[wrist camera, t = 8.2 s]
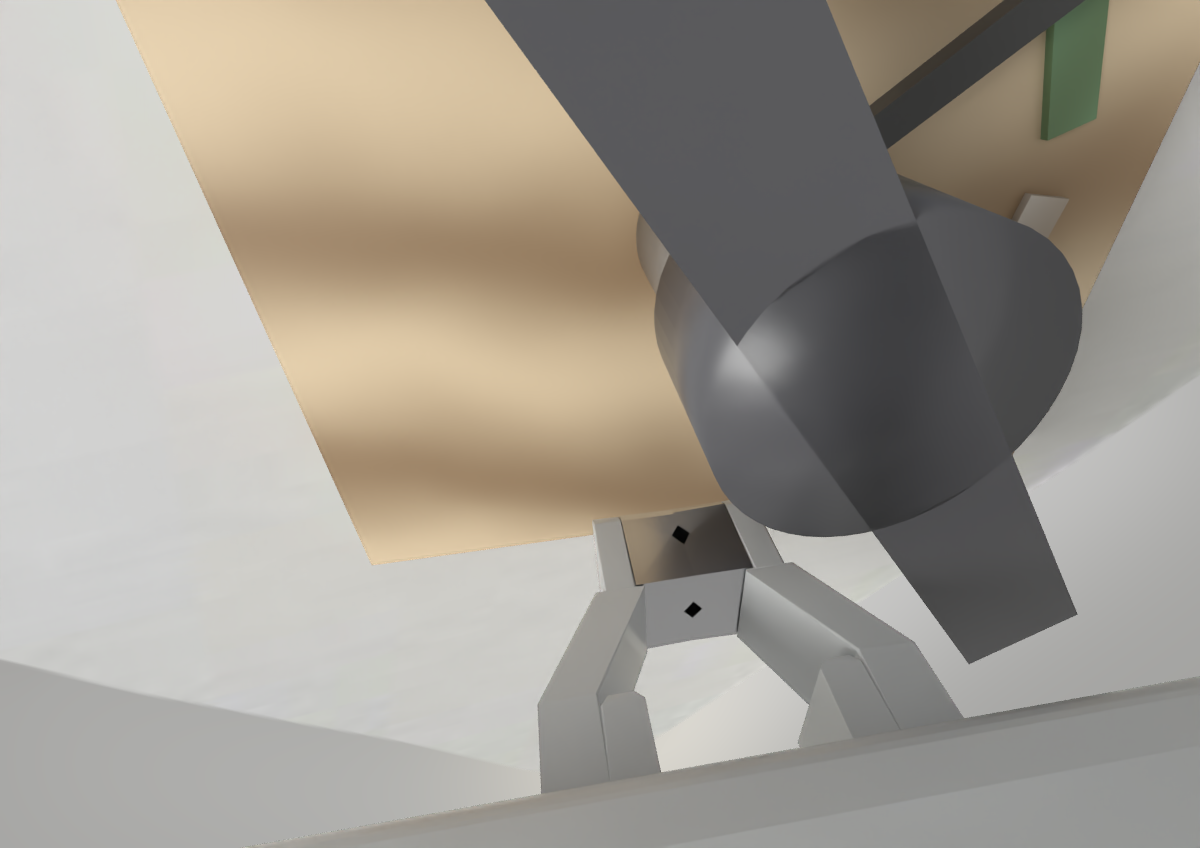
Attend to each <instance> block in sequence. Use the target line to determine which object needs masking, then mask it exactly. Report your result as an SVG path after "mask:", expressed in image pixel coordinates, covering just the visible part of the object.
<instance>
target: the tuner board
mask: <svg viewBox="0 0 1200 848" xmlns="http://www.w3.org/2000/svg"><path fill="white" fill-rule="evenodd" d="M116 1H117V4H118V6H119V8H120V10H121V13H122V15H123V17H124V19H125V21H126V24H127V26H128V28H129V30H130V32H131V35H132V37H133V39H134V41H135V43H136V46H137V48H138V50H139V52H140V54H141V57H142V59H143V61H144V63H145V65H146V68H147V70H148V72H149V74H150V77H151V79H152V81H153V83H154V85H155V88H156V90H157V92H158V94H159V96H160V99H161V101H162V103H163V105H164V107H165V110H166V112H167V114H168V116H169V118H170V121H171V123H172V125H173V127H174V129H175V132H176V134H177V136H178V138H179V141H180V143H181V145H182V147H183V149H184V152H185V154H186V156H187V158H188V160H189V163H190V165H191V167H192V169H193V171H194V174H195V176H196V178H197V180H198V182H199V185H200V187H201V189H202V191H203V193H204V196H205V198H206V200H207V202H208V205H209V207H210V209H211V211H212V213H213V216H214V218H215V220H216V222H217V224H218V227H219V229H220V231H221V233H222V235H223V238H224V240H225V242H226V244H227V246H228V249H229V251H230V253H231V255H232V257H233V260H234V262H235V264H236V266H237V269H238V271H239V273H240V275H241V277H242V280H243V282H244V284H245V286H246V288H247V291H248V293H249V295H250V297H251V299H252V302H253V304H254V306H255V308H256V310H257V313H258V315H259V317H260V319H261V321H262V324H263V326H264V328H265V330H266V333H267V335H268V337H269V339H270V341H271V344H272V346H273V348H274V350H275V352H276V355H277V357H278V359H279V361H280V363H281V366H282V368H283V370H284V372H285V374H286V377H287V379H288V381H289V383H290V385H291V388H292V390H293V392H294V394H295V397H296V399H297V401H298V403H299V405H300V408H301V410H302V412H303V414H304V416H305V419H306V421H307V423H308V425H309V427H310V430H311V432H312V434H313V436H314V438H315V441H316V443H317V445H318V447H319V450H320V452H321V454H322V456H323V458H324V461H325V463H326V465H327V467H328V469H329V472H330V474H331V476H332V478H333V480H334V483H335V485H336V487H337V489H338V491H339V494H340V496H341V498H342V500H343V502H344V505H345V507H346V509H347V511H348V514H349V516H350V518H351V520H352V522H353V525H354V527H355V529H356V531H357V533H358V536H359V538H360V540H361V542H362V544H363V547H364V549H365V551H366V553H367V555H368V558H369V560H370V562H371V564H372V565H378V564H385V563H392V562H400V561H407V560H414V559H421V558H428V557H436V556H443V555H450V554H457V553H465V552H472V551H479V550H486V549H493V548H501V547H508V546H515V545H522V544H530V543H537V542H544V541H551V540H558V539H566V538H573V537H580V536H587V535H593V526H592V520H595V519H603V518H611V517H619V516H623V515H632V514H640V513H648V512H656V511H664V510H670V509H675V508H681V507H688V506H694V505H700V504H707V503H713V502H719V501H720V502H722V501H726V500H729V499H728V498H727V496H726V495H725V494H724V493H723V491H722V490H721V488H720V486H719V484H718V482H717V480H716V478H715V476H714V474H713V472H712V470H711V467H710V465H709V463H708V461H707V458H706V456H705V454H704V452H703V449H702V447H701V445H700V443H699V440H698V438H697V436H696V434H695V431H694V429H693V427H692V425H691V422H690V420H689V418H688V416H687V413H686V411H685V409H684V407H683V404H682V402H681V400H680V398H679V395H678V393H677V391H676V389H675V386H674V384H673V382H672V380H671V377H670V375H669V373H668V371H667V368H666V366H665V364H664V362H663V359H662V357H661V354H660V351H659V348H658V345H657V340H656V334H655V326H654V309H655V300H656V294H655V292H654V290H653V288H652V286H651V284H650V283H649V281H648V279H647V277H646V275H645V273H644V271H643V269H642V266H641V263H640V260H639V257H638V252H637V246H636V230H637V222H638V217H639V211H638V210H637V208H636V207H635V206H634V204H633V203H632V202H631V200H630V199H629V197H628V196H627V195H626V193H625V192H624V191H623V189H622V188H621V186H620V185H619V184H618V182H617V181H616V180H615V178H614V177H613V176H612V174H611V173H610V171H609V170H608V169H607V167H606V166H605V165H604V163H603V162H602V160H601V159H600V158H599V156H598V155H597V154H596V152H595V151H594V149H593V148H592V147H591V145H590V144H589V143H588V141H587V140H586V139H585V137H584V136H583V134H582V133H581V132H580V130H579V129H578V128H577V126H576V125H575V123H574V122H573V121H572V119H571V118H570V117H569V115H568V114H567V112H566V111H565V110H564V108H563V107H562V106H561V104H560V103H559V102H558V100H557V99H556V97H555V96H554V95H553V93H552V92H551V91H550V89H549V88H548V86H547V85H546V84H545V82H544V81H543V80H542V78H541V77H540V75H539V74H538V73H537V71H536V70H535V69H534V67H533V66H532V65H531V63H530V62H529V60H528V59H527V58H526V56H525V55H524V54H523V52H522V51H521V49H520V48H519V47H518V45H517V44H516V43H515V41H514V40H513V38H512V37H511V36H510V34H509V33H508V32H507V30H506V29H505V28H504V26H503V25H502V23H501V22H500V21H499V19H498V18H497V17H496V15H495V14H494V12H493V11H492V10H491V8H490V7H489V6H488V4H487V3H486V1H485V0H116ZM826 1H827V4H828V6H829V9H830V11H831V13H832V16H833V18H834V21H835V23H836V26H837V28H838V31H839V33H840V35H841V38H842V40H843V43H844V45H845V48H846V50H847V53H848V55H849V57H850V60H851V62H852V65H853V67H854V70H855V72H856V75H857V77H858V79H859V82H860V84H861V87H862V89H863V92H864V94H865V97H866V99H867V101H868V104H869V106H870V105H871V104H872V103H873V102H875V101H876V100H877V99H879V98H880V97H881V96H882V95H884V94H885V93H886V92H888V91H889V90H890V89H891V88H893V87H894V86H895V85H896V84H898V83H899V82H900V81H902V80H903V79H904V78H905V77H907V76H908V75H909V74H910V73H912V72H913V71H914V70H916V69H917V68H918V67H919V66H921V65H922V64H923V63H924V62H926V61H927V60H928V59H930V58H931V57H932V56H933V55H935V54H936V53H937V52H938V51H940V50H941V49H942V48H944V47H945V46H946V45H947V44H949V43H950V42H951V41H953V40H954V39H955V38H956V37H958V36H959V35H960V34H961V33H963V32H964V31H965V30H967V29H968V28H969V27H970V26H972V25H973V24H974V23H975V22H977V21H978V20H979V19H981V18H982V17H983V16H984V15H986V14H987V13H988V12H989V11H991V10H992V9H993V8H995V7H996V6H997V5H998V4H1000V3H1001V2H1002V1H1004V0H826ZM1199 63H1200V0H1085V1H1084V2H1082V3H1081V4H1080V5H1078V6H1077V7H1076V8H1074V9H1073V10H1072V11H1070V12H1069V13H1068V14H1066V15H1065V16H1064V17H1062V18H1061V19H1060V20H1058V21H1057V22H1056V23H1054V24H1053V25H1052V26H1050V27H1049V28H1048V29H1046V30H1045V31H1044V32H1042V33H1041V34H1040V35H1038V36H1037V37H1036V38H1034V39H1033V40H1032V41H1030V42H1029V43H1028V44H1026V45H1025V46H1024V47H1022V48H1021V49H1020V50H1018V51H1017V52H1016V53H1015V54H1013V55H1012V56H1011V57H1009V58H1008V59H1007V60H1005V61H1004V62H1003V63H1001V64H1000V65H999V66H997V67H996V68H995V69H993V70H992V71H991V72H989V73H988V74H987V75H985V76H984V77H983V78H981V79H980V80H979V81H977V82H976V83H975V84H973V85H972V86H971V87H969V88H968V89H967V90H965V91H964V92H963V93H961V94H960V95H959V96H957V97H956V98H955V99H953V100H952V101H951V102H949V103H948V104H947V105H946V106H944V107H943V108H942V109H940V110H939V111H938V112H936V113H935V114H934V115H932V116H931V117H930V118H928V119H927V120H926V121H924V122H923V123H922V124H920V125H919V126H918V127H916V128H915V129H914V130H912V131H911V132H910V133H908V134H907V135H906V136H904V137H903V138H902V139H900V140H899V141H898V142H896V143H895V144H894V145H892V146H891V147H890V148H888V149H887V150H888V153H889V155H890V158H891V160H892V163H893V165H894V167H895V170H896V172H897V174H899V175H902V176H904V177H907V178H909V179H912V180H914V181H917V182H919V183H922V184H924V185H927V186H929V187H931V188H934V189H936V190H939V191H941V192H944V193H946V194H949V195H951V196H954V197H956V198H959V199H961V200H964V201H966V202H969V203H971V204H974V205H976V206H979V207H981V208H983V209H986V210H988V211H991V212H993V213H996V214H998V215H1001V216H1003V217H1006V218H1008V219H1011V220H1013V221H1016V222H1018V223H1021V224H1023V225H1026V226H1028V227H1030V228H1032V229H1034V230H1035V231H1037V232H1038V233H1040V234H1041V235H1043V236H1044V237H1046V238H1048V239H1049V240H1050V241H1051V242H1052V243H1053V244H1054V245H1055V246H1056V247H1057V248H1058V249H1059V250H1060V251H1061V252H1062V253H1063V255H1064V256H1065V258H1066V260H1067V261H1068V263H1069V264H1070V266H1071V268H1072V269H1073V271H1074V274H1075V277H1076V280H1077V283H1078V286H1079V289H1080V295H1081V303H1082V308H1083V306H1084V304H1085V302H1086V300H1087V298H1088V296H1089V294H1090V292H1091V289H1092V287H1093V285H1094V283H1095V281H1096V279H1097V277H1098V275H1099V273H1100V271H1101V268H1102V266H1103V264H1104V262H1105V260H1106V258H1107V256H1108V254H1109V252H1110V250H1111V247H1112V245H1113V243H1114V241H1115V239H1116V237H1117V235H1118V233H1119V231H1120V229H1121V226H1122V224H1123V222H1124V220H1125V218H1126V216H1127V214H1128V212H1129V210H1130V208H1131V205H1132V203H1133V201H1134V199H1135V197H1136V195H1137V193H1138V191H1139V189H1140V187H1141V184H1142V182H1143V180H1144V178H1145V176H1146V174H1147V172H1148V170H1149V168H1150V166H1151V163H1152V161H1153V159H1154V157H1155V155H1156V153H1157V151H1158V149H1159V147H1160V145H1161V142H1162V140H1163V138H1164V136H1165V134H1166V132H1167V130H1168V128H1169V126H1170V124H1171V121H1172V119H1173V117H1174V115H1175V113H1176V111H1177V109H1178V107H1179V105H1180V103H1181V100H1182V98H1183V96H1184V94H1185V92H1186V90H1187V88H1188V86H1189V84H1190V82H1191V79H1192V77H1193V75H1194V73H1195V71H1196V69H1197V67H1198V65H1199ZM1013 453H1014V452H1013ZM1013 453H1012V455H1013Z"/></svg>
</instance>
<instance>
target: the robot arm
mask: <svg viewBox="0 0 1200 848" xmlns="http://www.w3.org/2000/svg"><path fill="white" fill-rule="evenodd" d="M592 526H593V536H594V545H595V555H596V564H597V572H598V580H599V588H600V592H598V593H596V594H595V596H594V598H593V599H592V601H591V603H590V605H589V607H588V609H587V611H586V613H585V615H584V617H583V619H582V621H581V622H580V624H579V626H578V628H577V630H576V632H575V634H574V636H573V638H572V640H571V642H570V643H569V645H568V647H567V649H566V651H565V653H564V655H563V657H562V659H561V661H560V663H559V665H558V666H557V668H556V670H555V672H554V674H553V676H552V678H551V680H550V682H549V684H548V686H547V687H546V689H545V691H544V693H543V695H542V697H541V699H540V701H539V703H538V725H539V750H540V775H541V794H538V795H533V796H528V797H522V798H516V799H510V800H505V801H499V802H493V803H488V804H483V805H477V806H471V807H466V808H460V809H454V810H449V811H443V812H438V813H432V814H427V815H421V816H415V817H410V818H405V819H399V820H393V821H387V822H382V823H376V824H371V825H365V826H359V827H354V828H348V829H343V830H337V831H331V832H326V833H320V834H315V835H309V836H303V837H298V838H292V839H287V840H281V841H276V842H270V843H264V844H259V845H254V846H248V847H242V848H1200V676H1199V677H1193V678H1188V679H1182V680H1177V681H1171V682H1165V683H1160V684H1154V685H1149V686H1143V687H1137V688H1132V689H1126V690H1121V691H1115V692H1109V693H1105V694H1098V695H1093V696H1087V697H1082V698H1076V699H1070V700H1065V701H1059V702H1054V703H1048V704H1043V705H1037V706H1031V707H1026V708H1020V709H1014V710H1009V711H1003V712H997V713H992V714H986V715H981V716H975V717H969V718H964V717H963V716H962V714H961V713H960V711H959V710H958V708H957V707H956V705H955V704H954V702H953V701H952V699H951V697H950V696H949V694H948V693H947V691H946V690H945V688H944V687H943V685H942V684H941V682H940V680H939V679H938V677H937V676H936V674H935V673H934V671H933V670H932V668H931V667H930V665H929V664H928V662H927V660H926V659H925V657H924V656H923V654H922V653H921V651H920V650H919V648H918V647H917V645H916V644H915V642H913V641H912V640H910V639H909V638H908V637H906V636H904V635H903V634H901V633H900V632H898V631H897V630H895V629H894V628H892V627H891V626H889V625H888V624H886V623H884V622H883V621H881V620H880V619H878V618H877V617H875V616H874V615H872V614H871V613H869V612H868V611H866V610H865V609H863V608H862V607H860V606H858V605H857V604H855V603H854V602H852V601H851V600H849V599H848V598H846V597H845V596H843V595H842V594H840V593H839V592H837V591H835V590H834V589H832V588H831V587H829V586H828V585H826V584H825V583H823V582H822V581H820V580H819V579H817V578H816V577H814V576H812V575H811V574H809V573H808V572H806V571H805V570H803V569H802V568H800V567H799V566H797V565H796V564H794V563H793V562H791V563H784V562H783V560H782V558H781V556H780V554H779V552H778V550H777V548H776V546H775V544H774V542H773V540H772V538H771V537H770V535H769V533H768V531H767V529H766V527H765V525H762V524H760V523H758V522H756V521H754V520H753V519H751V518H750V517H748V516H746V515H745V514H743V513H742V512H741V511H740V510H739V509H738V508H737V507H736V506H734V505H733V504H732V503H731V502H730V500H726V501H722V502H720V501H719V502H713V503H707V504H700V505H694V506H688V507H681V508H675V509H670V510H664V511H656V512H648V513H640V514H632V515H623V516H619V517H611V518H603V519H595V520H592ZM733 634H737V637H738V638H739V639H740V640H742V641H743V642H744V643H745V644H746V645H747V646H748V647H749V648H750V649H751V650H752V651H753V652H754V653H755V654H756V655H757V656H758V657H759V658H760V659H761V660H762V661H764V662H765V663H766V664H767V665H768V666H769V667H770V668H771V669H772V670H773V671H774V672H775V673H776V674H777V675H778V676H780V678H781V679H783V681H784V682H786V683H787V684H788V685H789V686H790V687H791V688H792V689H793V690H794V691H795V692H796V693H797V694H798V695H799V696H800V697H801V698H802V699H804V701H805V702H806V703H808V704H809V708H808V711H807V714H806V718H805V721H804V724H803V727H802V731H801V734H800V737H799V740H798V744H799V747H800V748H795V749H790V750H784V751H779V752H773V753H767V754H762V755H756V756H750V757H745V758H739V759H734V760H729V761H723V762H717V763H712V764H706V765H700V766H695V767H689V768H683V769H678V770H672V771H667V772H661V770H660V765H659V761H658V756H657V751H656V747H655V742H654V737H653V733H652V728H651V723H650V719H649V714H648V709H647V705H646V700H645V697H644V696H642V695H640V694H639V693H637V692H635V691H634V688H635V685H636V683H637V680H638V677H639V674H640V671H641V668H642V665H643V662H644V660H645V657H646V654H647V649H648V648H653V647H658V646H663V645H669V644H674V643H679V642H684V641H689V640H696V639H704V638H711V637H718V636H726V635H733Z"/></svg>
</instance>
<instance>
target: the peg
mask: <svg viewBox="0 0 1200 848" xmlns="http://www.w3.org/2000/svg"><path fill="white" fill-rule="evenodd" d="M485 1H486V3H487V4H488V6H489V7H490V8H491V10H492V11H493V12H494V14H495V15H496V17H497V18H498V19H499V21H500V22H501V23H502V25H503V26H504V28H505V29H506V30H507V32H508V33H509V34H510V36H511V37H512V38H513V40H514V41H515V43H516V44H517V45H518V47H519V48H520V49H521V51H522V52H523V54H524V55H525V56H526V58H527V59H528V60H529V62H530V63H531V65H532V66H533V67H534V69H535V70H536V71H537V73H538V74H539V75H540V77H541V78H542V80H543V81H544V82H545V84H546V85H547V86H548V88H549V89H550V91H551V92H552V93H553V95H554V96H555V97H556V99H557V100H558V102H559V103H560V104H561V106H562V107H563V108H564V110H565V111H566V112H567V114H568V115H569V117H570V118H571V119H572V121H573V122H574V123H575V125H576V126H577V128H578V129H579V130H580V132H581V133H582V134H583V136H584V137H585V139H586V140H587V141H588V143H589V144H590V145H591V147H592V148H593V149H594V151H595V152H596V154H597V155H598V156H599V158H600V159H601V160H602V162H603V163H604V165H605V166H606V167H607V169H608V170H609V171H610V173H611V174H612V176H613V177H614V178H615V180H616V181H617V182H618V184H619V185H620V186H621V188H622V189H623V191H624V192H625V193H626V195H627V196H628V197H629V199H630V200H631V202H632V203H633V204H634V206H635V207H636V208H637V210H638V211H639V217H638V222H637V230H636V246H637V252H638V257H639V260H640V263H641V266H642V269H643V271H644V273H645V275H646V277H647V279H648V281H649V283H650V284H651V286H652V288H653V290H654V292H655V294H656V300H655V309H654V326H655V334H656V340H657V345H658V348H659V351H660V354H661V357H662V359H663V362H664V364H665V366H666V368H667V371H668V373H669V375H670V377H671V380H672V382H673V384H674V386H675V389H676V391H677V393H678V395H679V398H680V400H681V402H682V404H683V407H684V409H685V411H686V413H687V416H688V418H689V420H690V422H691V425H692V427H693V429H694V431H695V434H696V436H697V438H698V440H699V443H700V445H701V447H702V449H703V452H704V454H705V456H706V458H707V461H708V463H709V465H710V467H711V470H712V472H713V474H714V476H715V478H716V480H717V482H718V484H719V486H720V488H721V490H722V491H723V493H724V494H725V495H726V496H727V498H728V499H729V500H730V502H731V503H732V504H733V505H734V506H736V507H737V508H738V509H739V510H740V511H741V512H742V513H743V514H745V515H746V516H748V517H750V518H751V519H753V520H754V521H756V522H758V523H760V524H762V525H765V526H767V527H769V528H771V529H774V530H778V531H782V532H785V533H789V534H795V535H802V536H812V537H834V536H847V535H853V534H860V533H866V532H870V531H872V532H873V533H874V535H875V536H876V537H877V539H878V540H879V541H880V543H881V544H882V545H883V547H884V548H885V550H886V551H887V552H888V554H889V555H890V556H891V558H892V559H893V561H894V562H895V563H896V565H897V566H898V567H899V569H900V570H901V572H902V573H903V574H904V576H905V577H906V578H907V580H908V581H909V582H910V584H911V585H912V587H913V588H914V589H915V591H916V592H917V593H918V595H919V596H920V598H921V599H922V600H923V602H924V603H925V604H926V606H927V607H928V609H929V610H930V611H931V613H932V614H933V615H934V617H935V618H936V619H937V621H938V622H939V624H940V625H941V626H942V628H943V629H944V630H945V632H946V633H947V635H948V636H949V637H950V639H951V640H952V641H953V643H954V644H955V646H956V647H957V648H958V650H959V651H960V652H961V654H962V655H963V656H964V658H965V659H966V661H967V662H968V663H969V664H970V663H973V662H975V661H977V660H979V659H981V658H983V657H986V656H988V655H990V654H992V653H994V652H997V651H999V650H1001V649H1003V648H1005V647H1007V646H1010V645H1012V644H1014V643H1016V642H1018V641H1020V640H1023V639H1025V638H1027V637H1029V636H1031V635H1034V634H1036V633H1038V632H1040V631H1042V630H1045V629H1047V628H1049V627H1051V626H1053V625H1055V624H1057V623H1060V622H1062V621H1064V620H1066V619H1069V618H1070V617H1073V616H1075V615H1077V612H1076V610H1075V607H1074V605H1073V603H1072V600H1071V597H1070V595H1069V593H1068V590H1067V588H1066V585H1065V583H1064V580H1063V578H1062V576H1061V573H1060V571H1059V569H1058V566H1057V563H1056V561H1055V558H1054V556H1053V553H1052V551H1051V549H1050V546H1049V544H1048V542H1047V539H1046V536H1045V534H1044V531H1043V529H1042V527H1041V524H1040V522H1039V519H1038V517H1037V514H1036V512H1035V509H1034V507H1033V505H1032V502H1031V500H1030V497H1029V495H1028V492H1027V490H1026V487H1025V485H1024V483H1023V480H1022V478H1021V475H1020V473H1019V470H1018V468H1017V465H1016V463H1015V461H1014V458H1013V456H1012V453H1013V452H1014V451H1015V450H1016V449H1017V448H1018V447H1019V446H1020V445H1021V444H1022V443H1023V442H1024V440H1025V439H1026V438H1027V437H1028V436H1029V435H1030V434H1031V433H1032V431H1033V430H1034V429H1035V428H1036V427H1037V425H1038V424H1039V423H1040V421H1041V420H1042V419H1043V417H1044V416H1045V415H1046V413H1047V412H1048V411H1049V409H1050V407H1051V406H1052V404H1053V402H1054V401H1055V399H1056V398H1057V396H1058V394H1059V393H1060V391H1061V389H1062V387H1063V385H1064V383H1065V381H1066V379H1067V376H1068V374H1069V372H1070V370H1071V367H1072V364H1073V361H1074V358H1075V355H1076V353H1077V349H1078V344H1079V339H1080V334H1081V328H1082V303H1081V295H1080V289H1079V286H1078V283H1077V280H1076V277H1075V274H1074V271H1073V269H1072V268H1071V266H1070V264H1069V263H1068V261H1067V260H1066V258H1065V256H1064V255H1063V253H1062V252H1061V251H1060V250H1059V249H1058V248H1057V247H1056V246H1055V245H1054V244H1053V243H1052V242H1051V241H1050V240H1049V239H1048V238H1046V237H1044V236H1043V235H1041V234H1040V233H1038V232H1037V231H1035V230H1034V229H1032V228H1030V227H1028V226H1026V225H1023V224H1021V223H1018V222H1016V221H1013V220H1011V219H1008V218H1006V217H1003V216H1001V215H998V214H996V213H993V212H991V211H988V210H986V209H983V208H981V207H979V206H976V205H974V204H971V203H969V202H966V201H964V200H961V199H959V198H956V197H954V196H951V195H949V194H946V193H944V192H941V191H939V190H936V189H934V188H931V187H929V186H927V185H924V184H922V183H919V182H917V181H914V180H912V179H909V178H907V177H904V176H902V175H899V174H897V172H896V170H895V167H894V165H893V163H892V160H891V158H890V155H889V153H888V150H887V149H888V148H890V147H891V146H892V145H894V144H895V143H896V142H898V141H899V140H900V139H902V138H903V137H904V136H906V135H907V134H908V133H910V132H911V131H912V130H914V129H915V128H916V127H918V126H919V125H920V124H922V123H923V122H924V121H926V120H927V119H928V118H930V117H931V116H932V115H934V114H935V113H936V112H938V111H939V110H940V109H942V108H943V107H944V106H946V105H947V104H948V103H949V102H951V101H952V100H953V99H955V98H956V97H957V96H959V95H960V94H961V93H963V92H964V91H965V90H967V89H968V88H969V87H971V86H972V85H973V84H975V83H976V82H977V81H979V80H980V79H981V78H983V77H984V76H985V75H987V74H988V73H989V72H991V71H992V70H993V69H995V68H996V67H997V66H999V65H1000V64H1001V63H1003V62H1004V61H1005V60H1007V59H1008V58H1009V57H1011V56H1012V55H1013V54H1015V53H1016V52H1017V51H1018V50H1020V49H1021V48H1022V47H1024V46H1025V45H1026V44H1028V43H1029V42H1030V41H1032V40H1033V39H1034V38H1036V37H1037V36H1038V35H1040V34H1041V33H1042V32H1044V31H1045V30H1046V29H1048V28H1049V27H1050V26H1052V25H1053V24H1054V23H1056V22H1057V21H1058V20H1060V19H1061V18H1062V17H1064V16H1065V15H1066V14H1068V13H1069V12H1070V11H1072V10H1073V9H1074V8H1076V7H1077V6H1078V5H1080V4H1081V3H1082V2H1084V1H1085V0H1004V1H1002V2H1001V3H1000V4H998V5H997V6H996V7H995V8H993V9H992V10H991V11H989V12H988V13H987V14H986V15H984V16H983V17H982V18H981V19H979V20H978V21H977V22H975V23H974V24H973V25H972V26H970V27H969V28H968V29H967V30H965V31H964V32H963V33H961V34H960V35H959V36H958V37H956V38H955V39H954V40H953V41H951V42H950V43H949V44H947V45H946V46H945V47H944V48H942V49H941V50H940V51H938V52H937V53H936V54H935V55H933V56H932V57H931V58H930V59H928V60H927V61H926V62H924V63H923V64H922V65H921V66H919V67H918V68H917V69H916V70H914V71H913V72H912V73H910V74H909V75H908V76H907V77H905V78H904V79H903V80H902V81H900V82H899V83H898V84H896V85H895V86H894V87H893V88H891V89H890V90H889V91H888V92H886V93H885V94H884V95H882V96H881V97H880V98H879V99H877V100H876V101H875V102H873V103H872V104H871V105H870V106H869V104H868V101H867V99H866V97H865V94H864V92H863V89H862V87H861V84H860V82H859V79H858V77H857V75H856V72H855V70H854V67H853V65H852V62H851V60H850V57H849V55H848V53H847V50H846V48H845V45H844V43H843V40H842V38H841V35H840V33H839V31H838V28H837V26H836V23H835V21H834V18H833V16H832V13H831V11H830V9H829V6H828V4H827V1H826V0H485Z"/></svg>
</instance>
